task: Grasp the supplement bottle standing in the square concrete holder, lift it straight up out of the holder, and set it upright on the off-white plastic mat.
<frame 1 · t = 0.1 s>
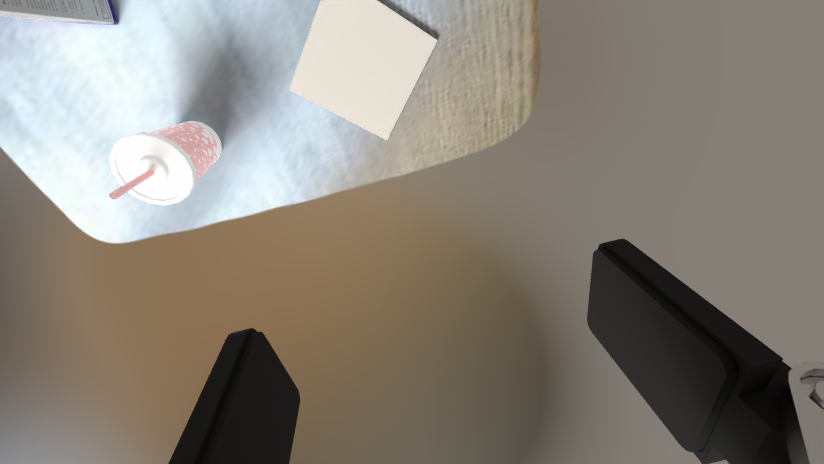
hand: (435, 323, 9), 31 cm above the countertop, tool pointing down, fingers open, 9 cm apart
beverage cup: (199, 142, 36), on the countertop
plastic mat: (362, 64, 34), on the countertop
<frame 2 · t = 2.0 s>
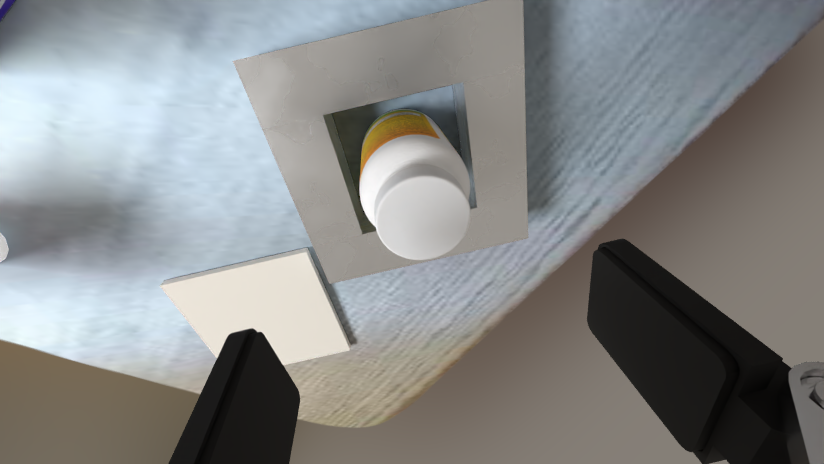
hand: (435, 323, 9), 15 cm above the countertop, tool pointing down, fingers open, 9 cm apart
concrete holder: (403, 150, 22), on the countertop
plastic mat: (266, 315, 28), on the countertop
supplement bottle: (402, 149, 22), resting in concrete holder
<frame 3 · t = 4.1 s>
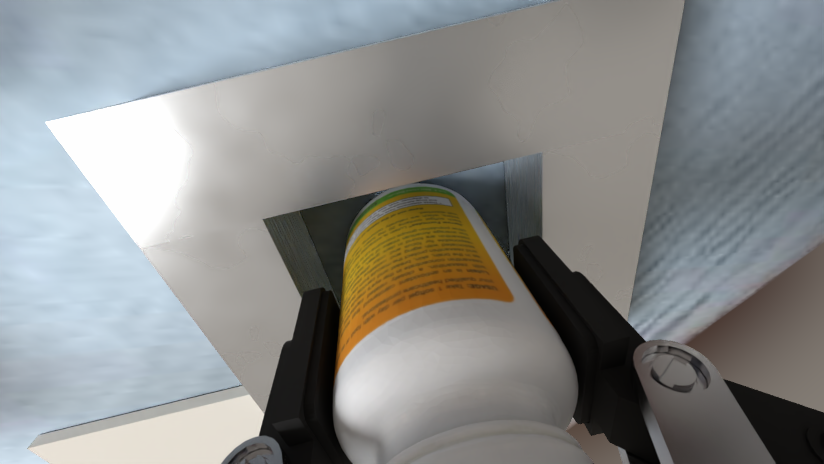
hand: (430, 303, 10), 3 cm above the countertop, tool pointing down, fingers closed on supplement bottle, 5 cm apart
concrete holder: (415, 243, 13), on the countertop
supplement bottle: (414, 241, 13), resting in concrete holder, touching gripper
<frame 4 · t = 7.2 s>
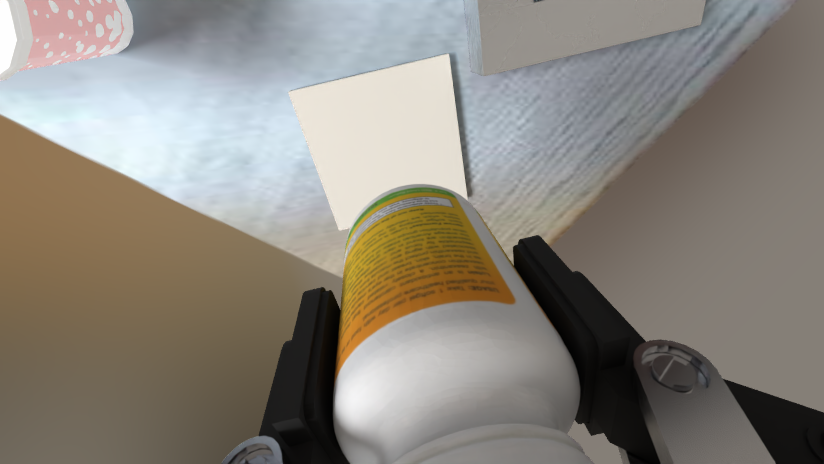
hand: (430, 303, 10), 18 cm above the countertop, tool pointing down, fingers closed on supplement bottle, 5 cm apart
beverage cup: (90, 11, 20), on the countertop
plastic mat: (387, 149, 26), on the countertop
supplement bottle: (415, 241, 13), point 14 cm above the countertop, touching gripper
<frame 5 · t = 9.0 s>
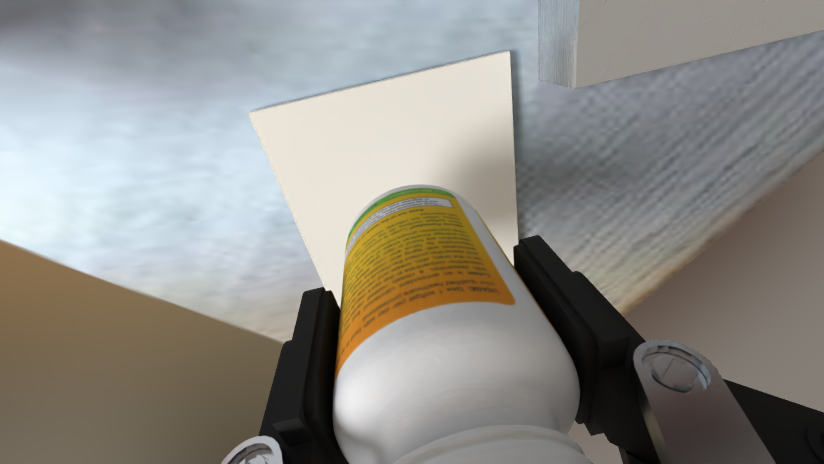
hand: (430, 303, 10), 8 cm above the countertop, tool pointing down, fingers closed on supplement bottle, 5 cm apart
plastic mat: (405, 196, 17), on the countertop
supplement bottle: (414, 242, 13), point 4 cm above the countertop, touching gripper
when the fingers open (5 cm above the countertop, at t = 10.4 s): supplement bottle drops 1 cm, resting on plastic mat.
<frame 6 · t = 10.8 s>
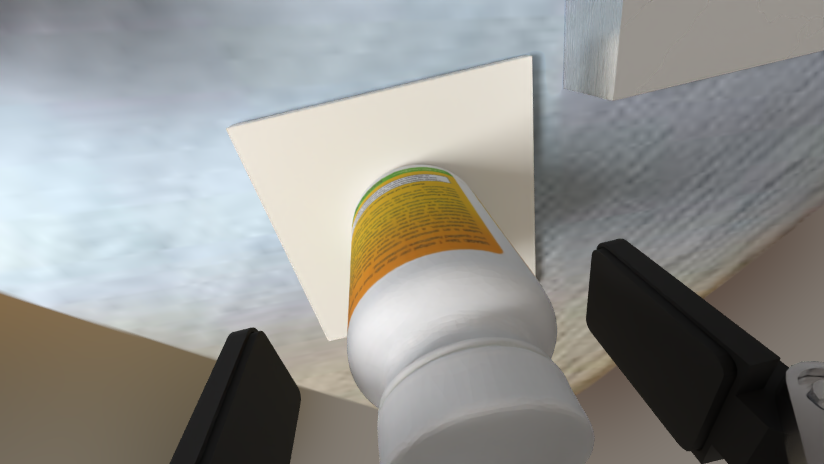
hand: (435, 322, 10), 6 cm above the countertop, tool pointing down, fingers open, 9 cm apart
plastic mat: (409, 219, 15), on the countertop
supplement bottle: (415, 219, 15), resting on plastic mat
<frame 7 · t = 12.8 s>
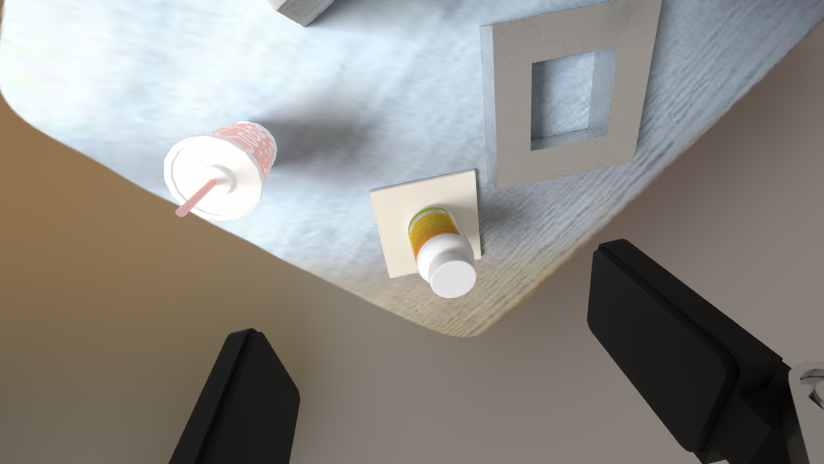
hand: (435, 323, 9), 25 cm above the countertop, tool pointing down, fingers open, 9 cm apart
beverage cup: (251, 146, 31), on the countertop
concrete holder: (554, 97, 32), on the countertop
plastic mat: (428, 225, 37), on the countertop
supplement bottle: (431, 225, 37), resting on plastic mat
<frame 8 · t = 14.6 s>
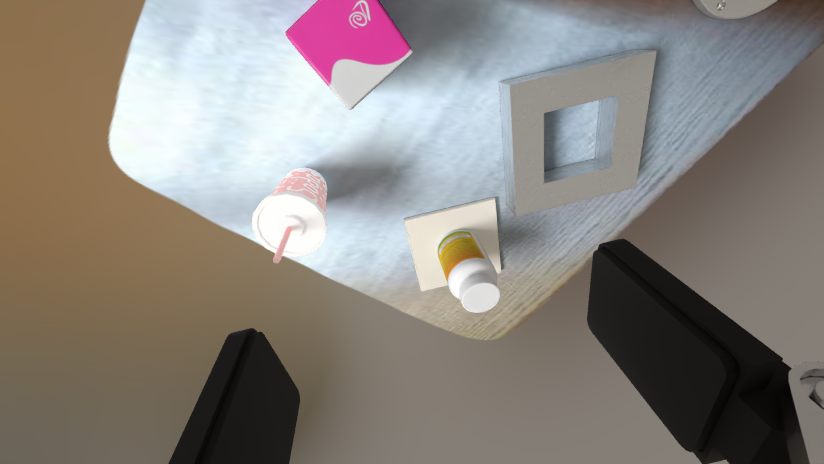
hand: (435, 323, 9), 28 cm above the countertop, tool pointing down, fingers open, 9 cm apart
beverage cup: (305, 187, 37), on the countertop
concrete holder: (564, 134, 37), on the countertop
plastic mat: (454, 245, 43), on the countertop
supplement bottle: (457, 246, 42), resting on plastic mat
supplement box: (354, 44, 31), on the countertop
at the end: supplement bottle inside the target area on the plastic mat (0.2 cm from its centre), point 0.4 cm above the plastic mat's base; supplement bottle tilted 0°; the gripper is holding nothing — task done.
